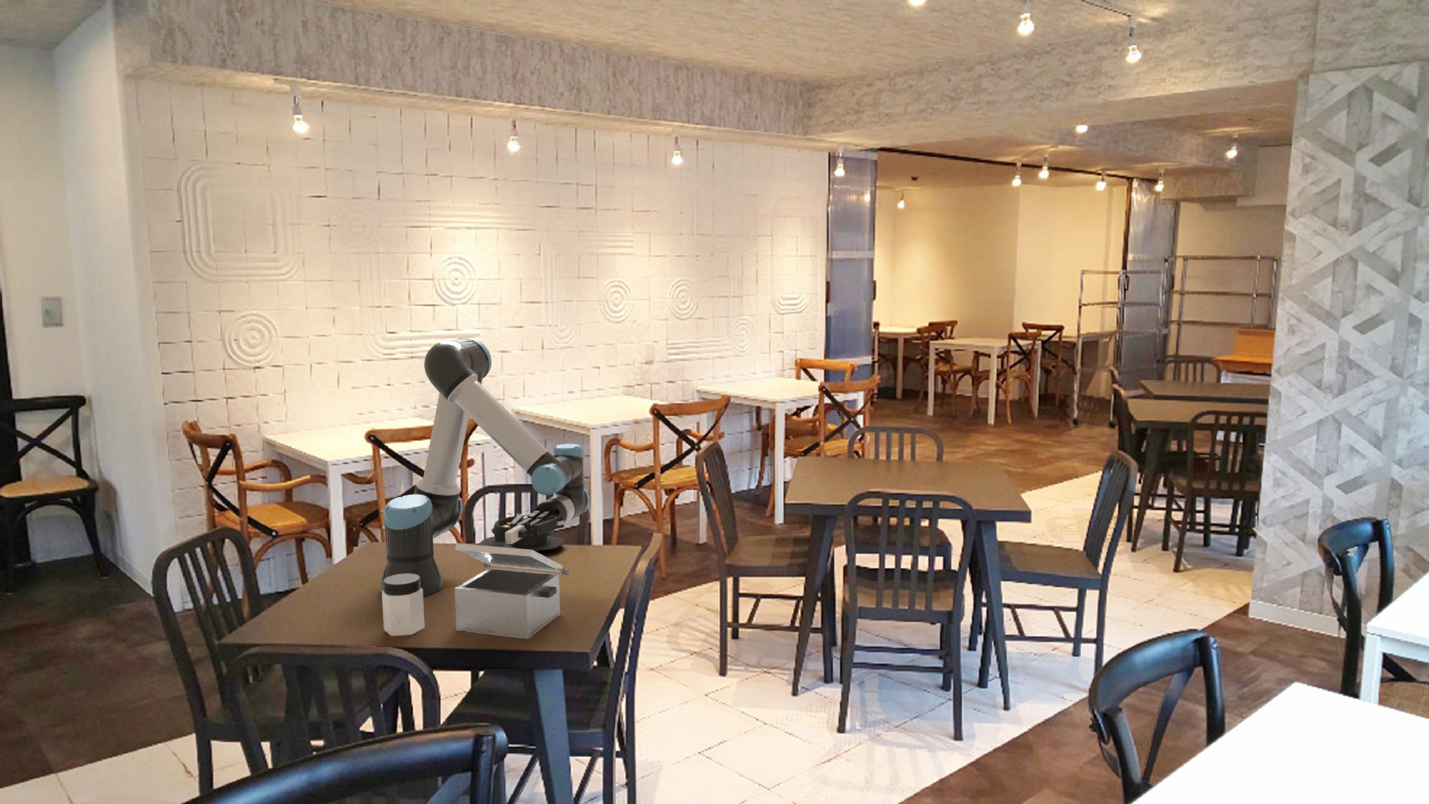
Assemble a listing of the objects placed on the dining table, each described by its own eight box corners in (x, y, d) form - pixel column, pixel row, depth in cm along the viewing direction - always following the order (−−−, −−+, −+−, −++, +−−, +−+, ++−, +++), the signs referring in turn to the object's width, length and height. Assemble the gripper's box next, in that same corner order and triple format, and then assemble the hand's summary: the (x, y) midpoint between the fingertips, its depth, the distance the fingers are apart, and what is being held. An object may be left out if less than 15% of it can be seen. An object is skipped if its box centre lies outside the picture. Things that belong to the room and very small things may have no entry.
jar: (380, 637, 215) (377, 585, 213) (387, 624, 223) (384, 574, 221) (421, 635, 216) (419, 583, 214) (427, 622, 224) (424, 572, 222)
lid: (490, 565, 233) (492, 553, 234) (561, 572, 227) (564, 559, 228) (454, 549, 217) (457, 536, 218) (530, 556, 212) (533, 543, 213)
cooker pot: (487, 604, 236) (485, 560, 234) (572, 613, 229) (570, 568, 228) (447, 629, 219) (445, 583, 218) (537, 640, 212) (536, 592, 211)
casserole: (571, 541, 291) (570, 513, 290) (555, 559, 272) (555, 530, 271) (490, 539, 293) (489, 512, 292) (469, 557, 274) (468, 529, 273)
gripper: (577, 529, 241) (534, 556, 218) (530, 525, 244) (483, 552, 222) (577, 500, 240) (533, 524, 217) (529, 497, 243) (482, 520, 221)
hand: (508, 538), depth 220 cm, fingers closed
